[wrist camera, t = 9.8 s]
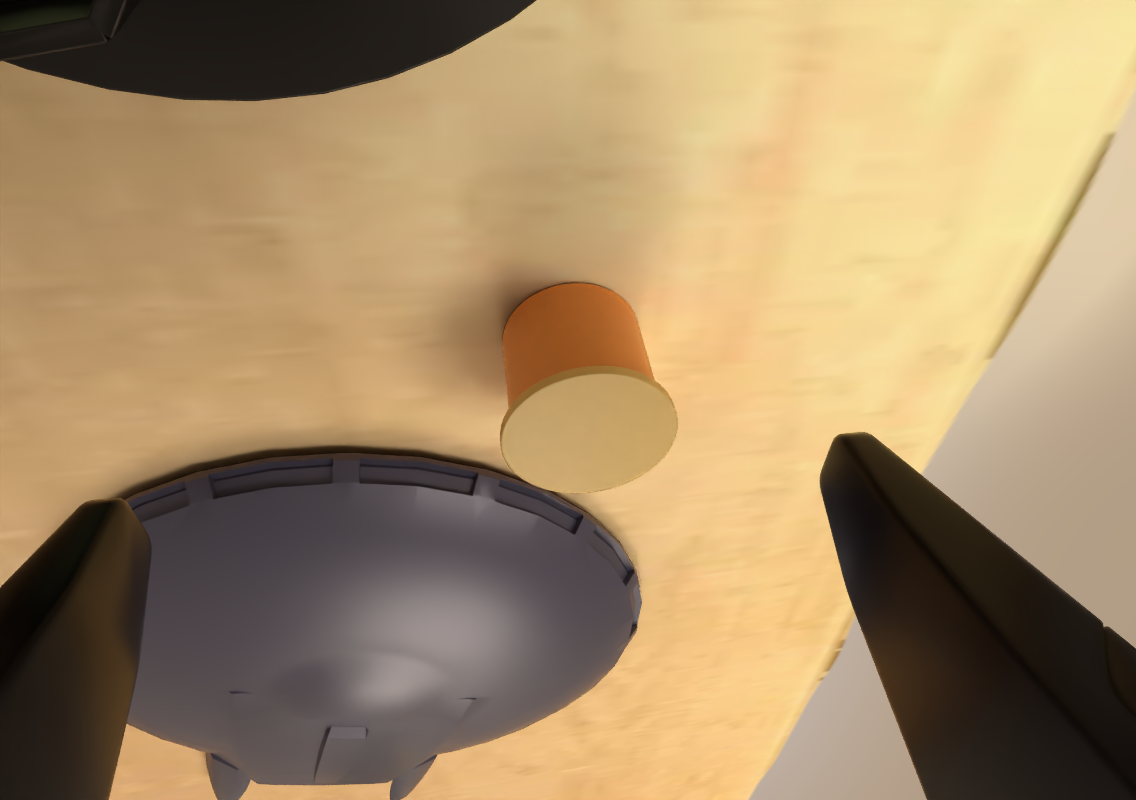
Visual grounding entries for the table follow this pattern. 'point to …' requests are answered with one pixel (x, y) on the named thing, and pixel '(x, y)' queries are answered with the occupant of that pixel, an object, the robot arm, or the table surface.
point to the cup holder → (239, 42)
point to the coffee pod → (581, 393)
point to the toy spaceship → (367, 615)
